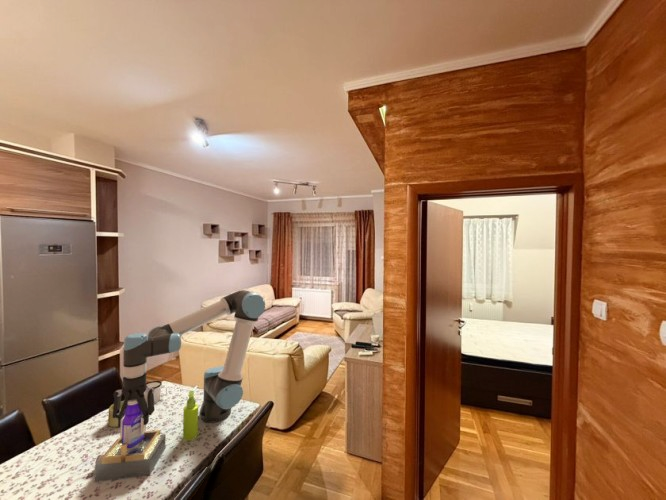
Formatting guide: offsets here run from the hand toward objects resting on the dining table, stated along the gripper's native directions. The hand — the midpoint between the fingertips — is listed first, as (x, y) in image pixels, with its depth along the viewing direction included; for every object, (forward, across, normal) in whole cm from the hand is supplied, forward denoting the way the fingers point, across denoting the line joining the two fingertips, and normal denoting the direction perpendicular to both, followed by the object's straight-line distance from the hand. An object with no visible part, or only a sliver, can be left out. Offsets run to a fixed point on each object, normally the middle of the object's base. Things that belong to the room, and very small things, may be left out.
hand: (133, 433), depth 108 cm
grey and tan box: (+12, +1, 0) cm, 12 cm away
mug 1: (+12, +18, -29) cm, 36 cm away
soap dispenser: (+12, -17, -13) cm, 25 cm away
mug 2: (+12, +12, -48) cm, 51 cm away
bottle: (+4, 0, 0) cm, 4 cm away
